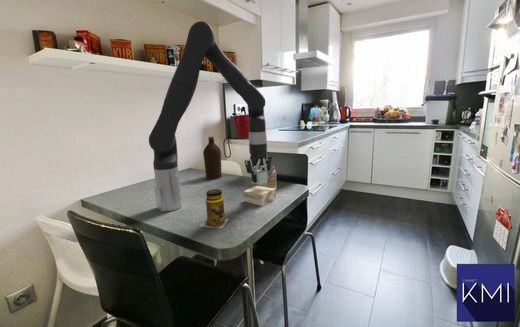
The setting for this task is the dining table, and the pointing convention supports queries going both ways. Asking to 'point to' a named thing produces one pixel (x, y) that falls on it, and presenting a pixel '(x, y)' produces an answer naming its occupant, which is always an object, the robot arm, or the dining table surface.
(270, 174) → the patterned jar
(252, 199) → the maple block
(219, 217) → the condiment
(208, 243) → the dining table surface
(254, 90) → the robot arm
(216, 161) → the olive oil
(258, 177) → the green cube
